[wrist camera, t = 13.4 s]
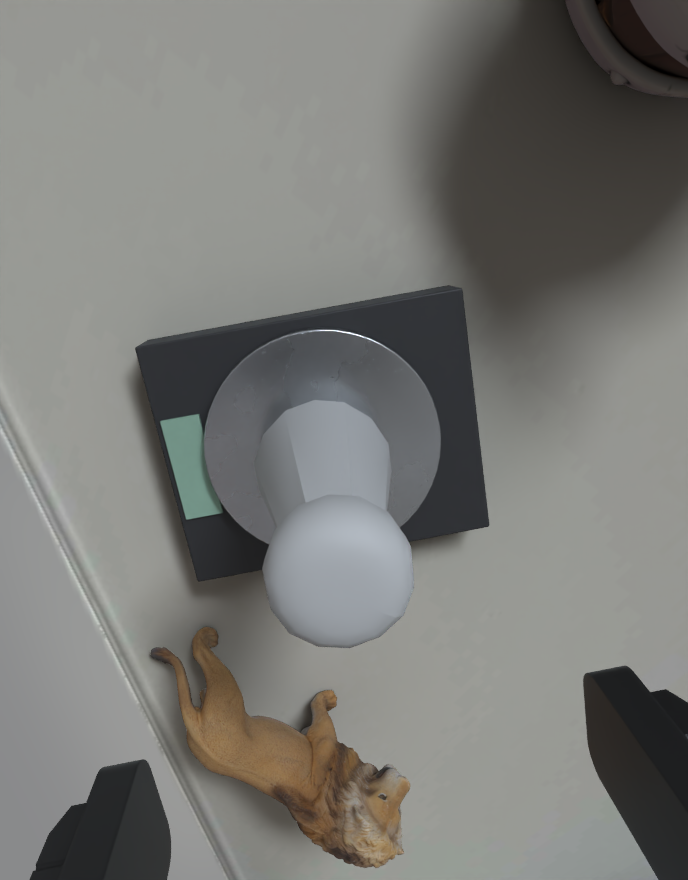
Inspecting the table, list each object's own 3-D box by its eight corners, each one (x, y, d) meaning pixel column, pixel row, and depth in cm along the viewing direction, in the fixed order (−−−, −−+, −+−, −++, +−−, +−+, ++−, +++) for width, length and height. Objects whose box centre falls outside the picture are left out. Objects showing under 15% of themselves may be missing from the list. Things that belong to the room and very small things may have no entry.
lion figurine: (404, 696, 38) (436, 828, 29) (364, 764, 39) (383, 909, 30) (170, 608, 35) (130, 724, 26) (134, 684, 36) (84, 818, 28)
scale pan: (234, 568, 32) (232, 576, 31) (180, 351, 29) (177, 353, 28) (450, 527, 32) (454, 533, 31) (421, 307, 29) (424, 308, 28)
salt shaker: (285, 525, 30) (278, 714, 18) (238, 416, 29) (194, 541, 16) (400, 482, 30) (474, 643, 18) (359, 370, 29) (409, 462, 16)
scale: (204, 559, 34) (197, 584, 32) (146, 339, 31) (133, 348, 28) (476, 508, 35) (491, 528, 32) (449, 285, 31) (463, 287, 29)
